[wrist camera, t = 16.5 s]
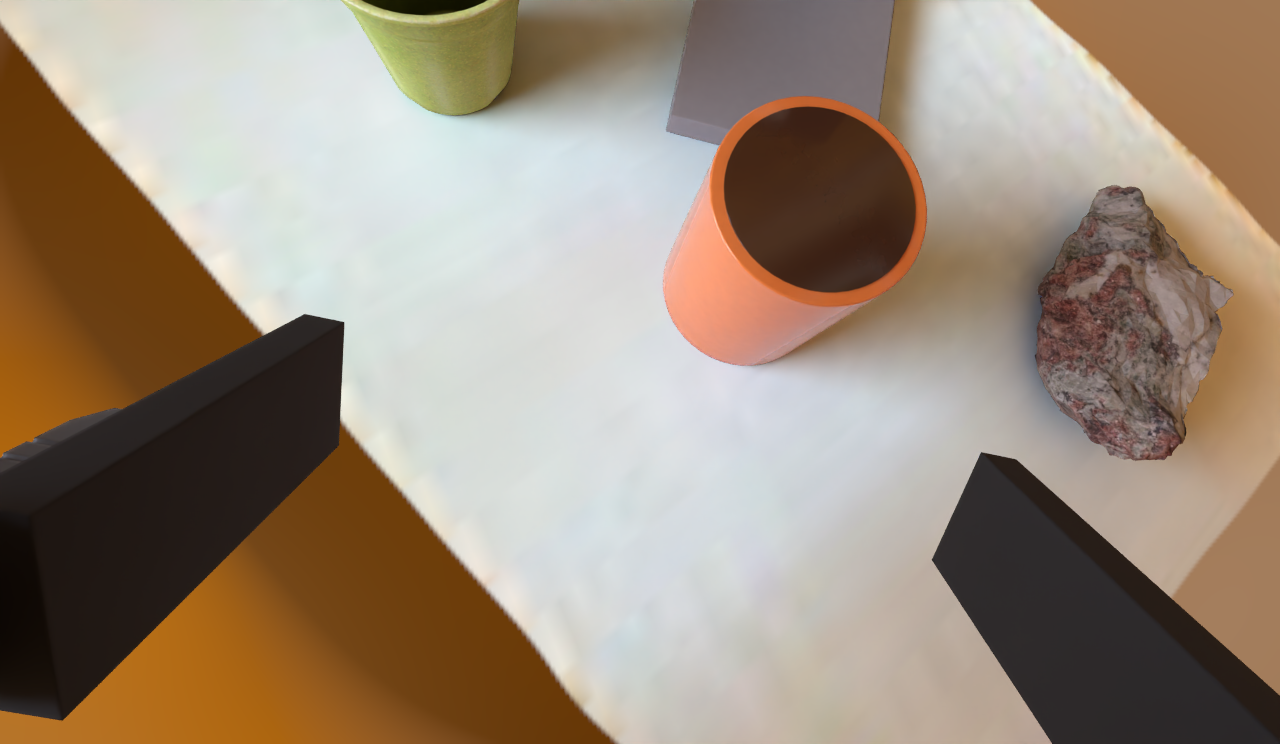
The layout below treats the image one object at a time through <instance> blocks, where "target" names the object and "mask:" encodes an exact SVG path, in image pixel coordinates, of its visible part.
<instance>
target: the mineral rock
mask: <svg viewBox="0 0 1280 744" xmlns="http://www.w3.org/2000/svg"><path fill="white" fill-rule="evenodd" d="M1098 191H1099V192H1098V193H1097V195H1096V197H1095V198H1094V200H1093V201H1092V205H1091V208H1090V211H1089V213H1088V214H1087V215H1086V217H1084V218H1083V219H1082V221H1081V225H1080V227H1079V228H1078V230H1077V232H1074V233H1073V234H1072V235H1070V236H1069V237H1068V238H1067V239H1066V241H1065V242H1064V244H1063V247H1062V249H1061V252H1060V254H1059V256H1058V257H1057V258H1056V261H1055V264H1054V268H1052V270H1050V271H1049V272H1048V273H1047V274H1046V276H1045V277H1044V278H1043V282H1042V283H1041V284H1040V285H1039V287H1038V295H1041V296H1042V297H1041V298H1040V299H1041V304H1042V315H1041V319H1040V321H1039V323H1038V326H1037V335H1038V340H1037V354H1036V355H1035V358H1036V361H1037V364H1038V365H1037V370H1038V372H1039V374H1040V376H1041V378H1042V380H1043V383H1044V386H1045V388H1046V390H1047V391H1048V392H1049V393H1050V395H1051V397H1052V398H1053V400H1054V401H1055V402H1056V404H1057V405H1058V407H1059V408H1060V411H1062V412H1063V413H1065V414H1066V415H1068V416H1069V417H1071V418H1072V419H1074V420H1075V421H1077V422H1078V423H1079V424H1080V425H1081V426H1082V427H1083V428H1084V430H1083V431H1084V433H1085V434H1086V435H1087V436H1088V437H1089V439H1090V440H1091V441H1092V442H1094V443H1097V444H1101V445H1103V446H1104V447H1105V448H1106V449H1107V451H1108V453H1109V455H1115V456H1117V457H1120V458H1122V459H1129V458H1131V459H1132V460H1135V461H1136V460H1145V459H1146V460H1153V459H1155V460H1157V459H1159V460H1165V459H1166V457H1167V456H1172V452H1173V451H1174V450H1175V448H1176V447H1177V446H1178V445H1179V444H1182V443H1183V441H1184V439H1185V436H1186V427H1185V424H1184V421H1183V419H1184V417H1185V414H1186V411H1187V407H1186V406H1187V404H1188V403H1190V402H1192V401H1193V399H1194V397H1195V395H1196V393H1197V391H1198V388H1199V381H1200V380H1202V379H1204V378H1205V377H1206V375H1207V373H1208V371H1209V363H1210V359H1211V357H1212V356H1213V354H1214V352H1215V348H1216V344H1217V340H1218V338H1219V336H1220V333H1221V331H1222V326H1221V321H1220V319H1219V317H1218V315H1217V314H1216V313H1215V312H1216V311H1217V309H1219V308H1221V307H1223V306H1224V305H1225V304H1226V303H1227V300H1228V299H1229V298H1231V297H1232V296H1233V295H1234V294H1233V290H1232V289H1227V288H1225V287H1224V286H1223V284H1220V281H1216V280H1215V279H1214V277H1213V276H1208V275H1207V276H1203V273H1202V272H1201V271H1199V270H1198V269H1197V267H1196V266H1194V265H1192V264H1190V263H1189V261H1188V259H1187V258H1186V256H1185V255H1184V253H1183V252H1181V250H1180V248H1179V246H1178V243H1177V241H1176V240H1175V239H1173V238H1172V237H1171V236H1170V235H1169V234H1167V233H1166V230H1165V227H1164V225H1163V224H1162V223H1161V222H1160V221H1159V220H1158V219H1156V218H1155V217H1154V214H1153V211H1152V210H1151V209H1150V208H1149V207H1148V206H1147V205H1146V203H1145V200H1144V196H1143V193H1142V191H1141V190H1140V189H1139V188H1136V187H1127V188H1124V189H1123V188H1121V187H1120V186H1115V185H1114V186H1113V185H1111V186H1109V187H1106V188H1103V189H1101V190H1098Z"/></svg>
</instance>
